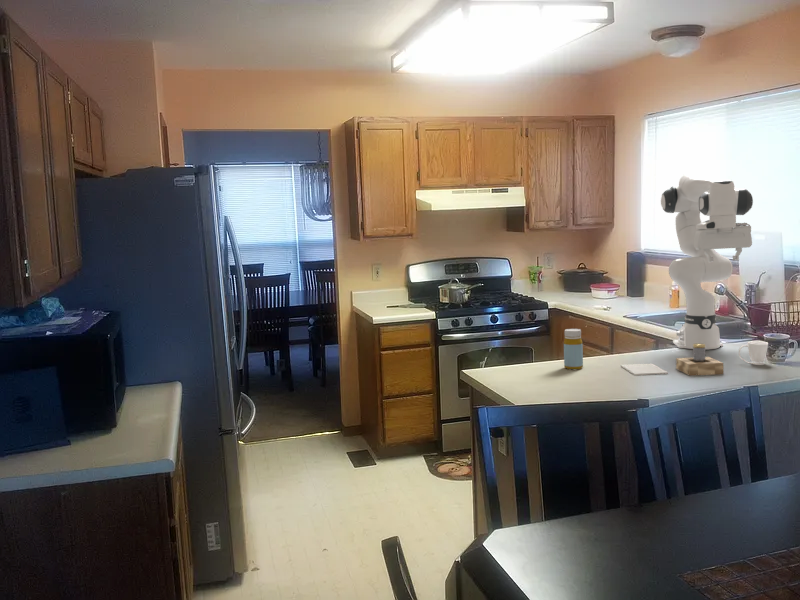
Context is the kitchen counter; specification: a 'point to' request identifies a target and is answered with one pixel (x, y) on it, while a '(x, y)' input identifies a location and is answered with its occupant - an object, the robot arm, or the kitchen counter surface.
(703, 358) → the peg
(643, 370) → the mat
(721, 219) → the robot arm
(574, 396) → the kitchen counter surface
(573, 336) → the bottle
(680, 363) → the block
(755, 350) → the cup
